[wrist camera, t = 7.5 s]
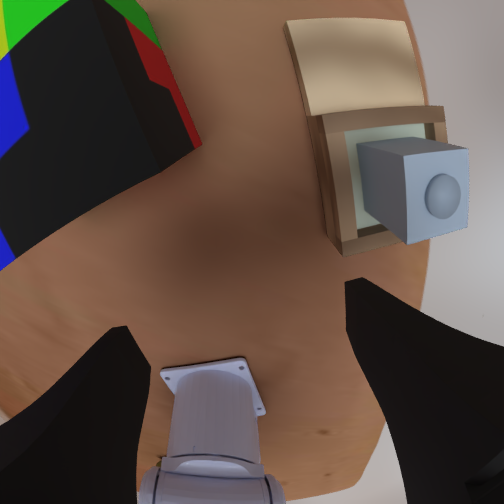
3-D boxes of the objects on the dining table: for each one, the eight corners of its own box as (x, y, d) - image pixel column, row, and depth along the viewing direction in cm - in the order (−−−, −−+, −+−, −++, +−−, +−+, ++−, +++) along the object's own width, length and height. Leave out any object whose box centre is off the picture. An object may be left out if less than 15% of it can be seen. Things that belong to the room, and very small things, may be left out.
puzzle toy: (76, 210, 17) (-16, 284, 8) (28, 93, 13) (-77, 102, 4) (202, 144, 16) (161, 171, 7) (146, 12, 12) (73, -61, 3)
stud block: (417, 198, 16) (471, 230, 11) (364, 210, 16) (411, 248, 11) (413, 136, 14) (473, 150, 9) (355, 143, 14) (408, 157, 9)
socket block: (423, 213, 18) (448, 228, 16) (327, 236, 19) (343, 257, 16) (395, 25, 12) (421, 14, 10) (283, 26, 13) (293, 8, 10)
